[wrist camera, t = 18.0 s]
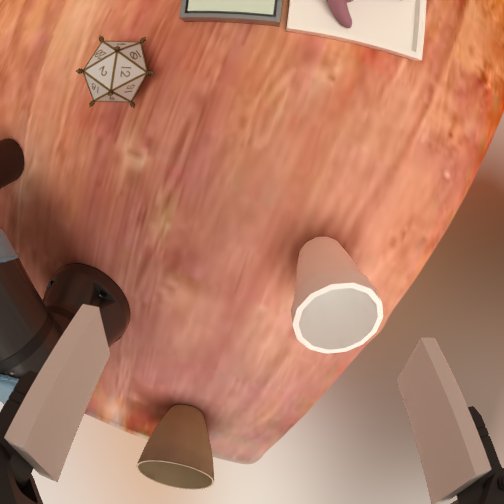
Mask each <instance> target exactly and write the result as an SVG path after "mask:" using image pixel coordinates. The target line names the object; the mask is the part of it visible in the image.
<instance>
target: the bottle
mask: <svg viewBox="0 0 504 504" xmlns="http://www.w3.org/2000/svg"><path fill="white" fill-rule="evenodd" d="M23 164H24V161H23V154H22V151H21V149H20V147H19V145H18V144H17V143H16V142H15V141H14V140H11V139H4V140H1V141H0V189H1V188H2V187H4V186H6V185H8V184H9V183H11V182H13V181H15V180H17V178H18V177H19V176H20V175H21V173H22V170H23Z"/></svg>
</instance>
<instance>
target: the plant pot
mask: <svg viewBox="0 0 504 504" xmlns="http://www.w3.org/2000/svg"><path fill="white" fill-rule="evenodd" d="M137 470H138V471H139V472H140V473H141V474H142V475H144V476H145V477H147V478H149V479H150V480H153V481H155V482H157V483H160V484H163V485H166V486H170V487H174V488H180V489H192V490H195V489H205V488H209V487H211V486H212V485H213V484H214V471H213V459H212V451H211V445H210V439H209V435H208V430H207V427H206V423H205V419H204V416H203V414H202V412H201V411H200V410H198V409H197V408H195V407H192V406H189V405H175V406H173V407H171V408H170V409H169V411H168V412H167V413H166V414H165V416H164V417H163V418H162V420H161V421H160V422H159V424H158V425H157V427H156V428H155V430H154V432H153V433H152V435H151V437H150V438H149V440H148V442H147V444H146V446H145V448H144V450H143V452H142V455H141V457H140V459H139V461H138V464H137Z"/></svg>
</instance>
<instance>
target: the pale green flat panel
mask: <svg viewBox="0 0 504 504" xmlns="http://www.w3.org/2000/svg"><path fill="white" fill-rule="evenodd" d="M274 3H275V0H189V3H188V12H189V13H235V14H250V15H262V16H272V17H273V11H274Z"/></svg>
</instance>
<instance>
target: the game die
mask: <svg viewBox="0 0 504 504" xmlns="http://www.w3.org/2000/svg"><path fill="white" fill-rule="evenodd" d="M145 39H146V37H144V38H142V39H141V40H140V42H125V41H104V38H103V37H102V36H100V37H99V40H100V41H101V44H100V45H99V47H98V48H97V50H96V51H95V53H94V54H93V56H92V57H91V59H90V60H89V62H88V63H87V65H86V66H85V68H84V69H80V68H79V69H78V70H77V71H76V72H78V73H83V74H84V77H85V79H86V82H87V85H88V88H89V90H90V93H91V96H92V98H93V101H91V103H90V107H91V106H93V105H94V104H95V101H105V102H130V105H131V107H133V108H134V107H135V104H134V102H133V101H132V100H133V99H134V97H135V95H136V93H137V91H138V90H139V88H140V86H141V84H142V82H143V81H144V79H145V77H146V75H147V74H148V75H152V74H154V72H153V71H152V70H151V71H150V70H149V71H148V70H147V65H146V61H145V57H144V52H143V48H142V43H143V42H144V41H145Z"/></svg>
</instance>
